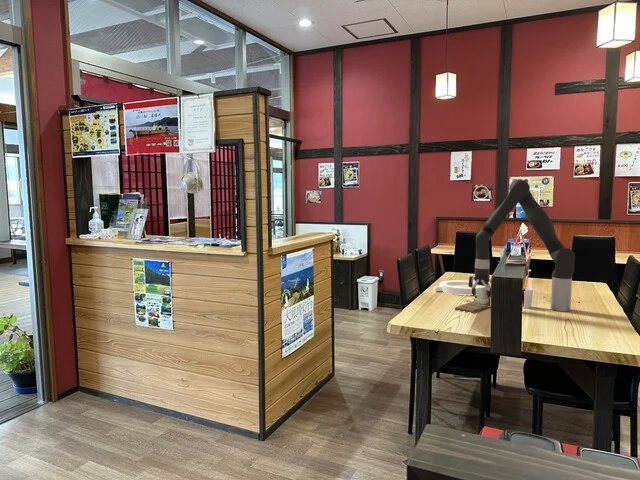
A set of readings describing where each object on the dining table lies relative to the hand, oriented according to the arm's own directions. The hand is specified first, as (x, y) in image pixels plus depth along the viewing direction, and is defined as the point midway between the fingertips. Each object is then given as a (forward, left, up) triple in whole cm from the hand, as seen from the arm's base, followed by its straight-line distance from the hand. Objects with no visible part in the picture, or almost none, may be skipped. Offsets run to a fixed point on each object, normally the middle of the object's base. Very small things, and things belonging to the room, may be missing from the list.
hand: (481, 296), depth 245 cm
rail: (+7, 0, -5) cm, 9 cm away
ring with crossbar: (-29, -27, -6) cm, 40 cm away
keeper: (0, 0, -4) cm, 4 cm away
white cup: (-14, +18, -5) cm, 23 cm away
